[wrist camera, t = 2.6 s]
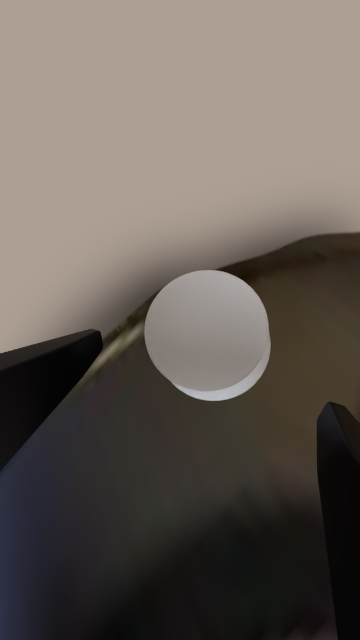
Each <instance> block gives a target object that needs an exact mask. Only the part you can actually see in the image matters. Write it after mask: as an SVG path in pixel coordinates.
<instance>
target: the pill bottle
mask: <svg viewBox="0 0 360 640" xmlns="http://www.w3.org/2000/svg"><path fill="white" fill-rule="evenodd" d="M144 331H145V343H146V347H147V351H148V353H149V356H150V358H151V360H152V362H153V363H154V365H155V366H156V368H157V369H158V370H159V371H160V372H161V373H162V374H163V375H164V376H165V377H166V378H167V379H168V380H170V381H171V382H172V383H173V384H174V385H175V386H176V387H177V388H178V389H180V390H181V391H182V392H184V393H186V394H187V395H190V396H192V397H194V398H198V399H202V400H208V401H220V400H226V399H230V398H233V397H236V396H238V395H240V394H242V393H244V392H246V391H247V390H248V389H250V388H251V387H252V386H253V385H254V384H255V383H256V382H257V381H258V379H259V378H260V377H261V375H262V374H263V372H264V370H265V368H266V366H267V363H268V360H269V355H270V345H271V343H270V335H269V328H268V319H267V314H266V311H265V308H264V306H263V304H262V302H261V300H260V298H259V296H258V295H257V294H256V293H255V291H254V290H253V289H252V288H251V287H250V286H249V285H248V284H246V283H245V282H244V281H243V280H241V279H239V278H238V277H236V276H234V275H231V274H229V273H226V272H222V271H216V270H199V271H194V272H191V273H188V274H185V275H182V276H180V277H178V278H176V279H174V280H173V281H171V282H170V283H169V284H168V285H166V286H165V287H164V288H163V289H162V290H161V291H160V292H159V294H158V295H157V296H156V298H155V299H154V301H153V302H152V304H151V306H150V308H149V311H148V314H147V317H146V321H145V329H144Z"/></svg>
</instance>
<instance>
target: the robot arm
mask: <svg viewBox="0 0 360 640" xmlns="http://www.w3.org/2000/svg"><path fill="white" fill-rule="evenodd" d="M102 349H103V342H102V336H101V333H100V331H98V330H94V329H88V330H85V331H81V332H77V333H74V334H70V335H67V336H63V337H59V338H56V339H52V340H48V341H44V342H41V343H37V344H33V345H30V346H27V347H23V348H19V349H15V350H12V351H8V352H4V353H0V471H1V469H2V468H3V467H4V466H5V465H6V464H7V463H8V461H9V460H10V459H11V458H12V457H13V456H14V455H15V453H16V452H17V451H18V450H19V449H20V448H21V447H22V446H23V444H24V443H25V442H26V441H27V440H28V439H29V438H30V436H31V435H32V434H33V433H34V432H35V431H36V430H37V428H38V427H39V426H40V425H41V424H42V423H43V422H44V420H45V419H46V418H47V417H48V416H49V415H50V414H51V413H52V411H53V410H54V409H55V408H56V407H57V406H58V405H59V403H60V402H61V401H62V400H63V399H64V398H65V397H66V395H67V394H68V393H69V392H70V391H71V390H72V389H73V387H74V386H75V385H76V384H77V383H78V382H79V381H80V379H81V378H82V377H83V376H84V374H85V373H86V372H87V370H88V369H89V368H90V366H91V365H92V363H93V362H94V361H95V359H96V358H97V357H98V355H99V354H100V352H101V351H102ZM317 474H318V483H319V491H320V499H321V507H322V515H323V523H324V531H325V539H326V547H327V555H328V563H329V571H330V579H331V587H332V595H333V603H334V611H335V618H336V626H337V634H338V640H360V423H359V422H358V421H357V420H356V418H355V417H354V416H353V415H352V414H351V413H350V412H349V410H348V409H347V408H346V407H345V406H343V405H340V404H337V403H334V402H328V403H327V404H326V405H325V407H324V408H323V410H322V412H321V413H320V415H319V417H318V419H317Z"/></svg>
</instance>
